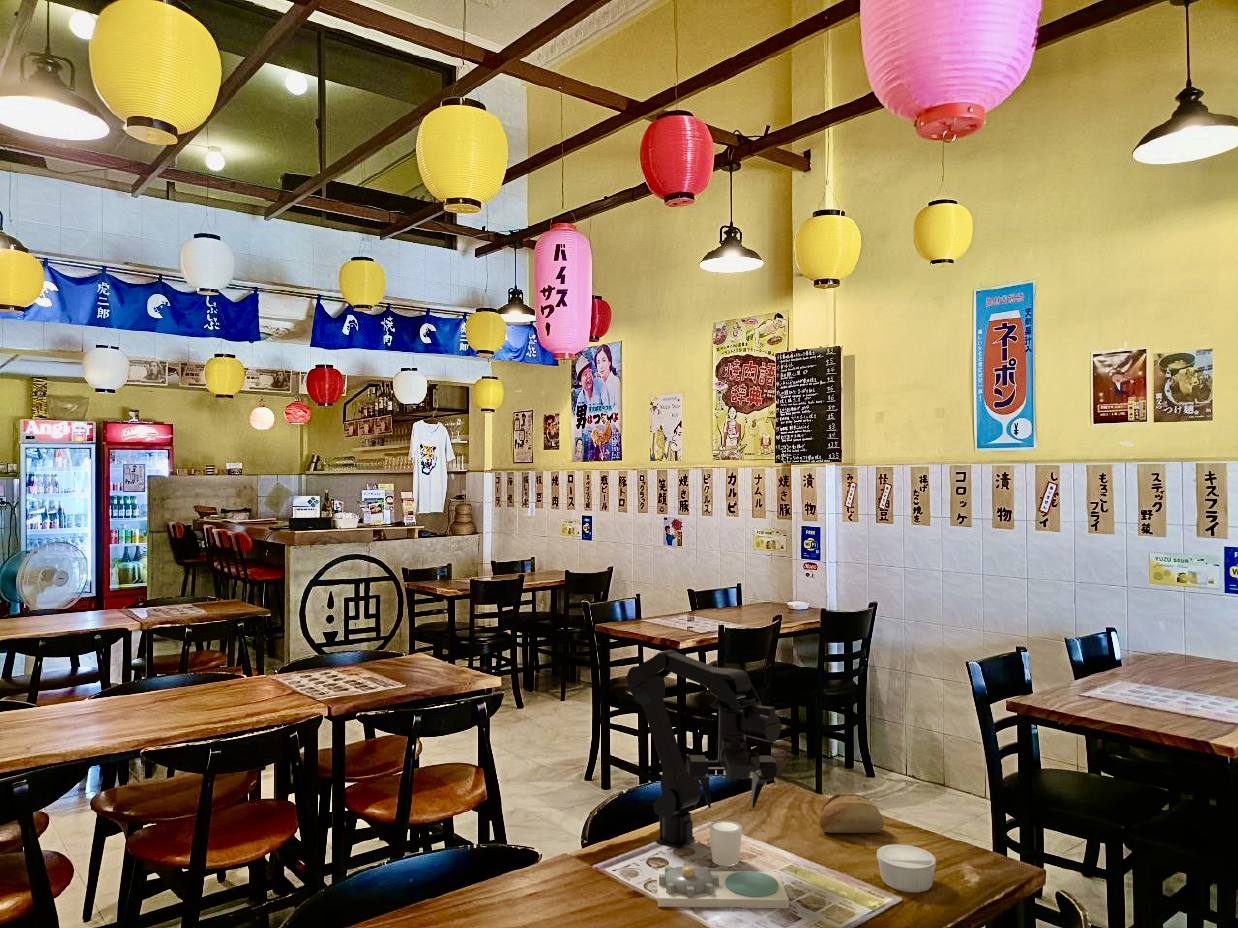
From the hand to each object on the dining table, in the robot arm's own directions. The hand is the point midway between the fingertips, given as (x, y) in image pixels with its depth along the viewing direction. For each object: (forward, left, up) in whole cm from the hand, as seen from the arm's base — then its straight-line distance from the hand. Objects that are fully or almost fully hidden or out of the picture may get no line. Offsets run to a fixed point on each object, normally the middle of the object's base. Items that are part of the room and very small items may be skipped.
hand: (731, 807), depth 174 cm
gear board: (+5, -14, -11) cm, 19 cm away
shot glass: (-1, 0, -11) cm, 11 cm away
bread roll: (+15, +31, -11) cm, 36 cm away
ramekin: (+33, +11, -11) cm, 36 cm away
